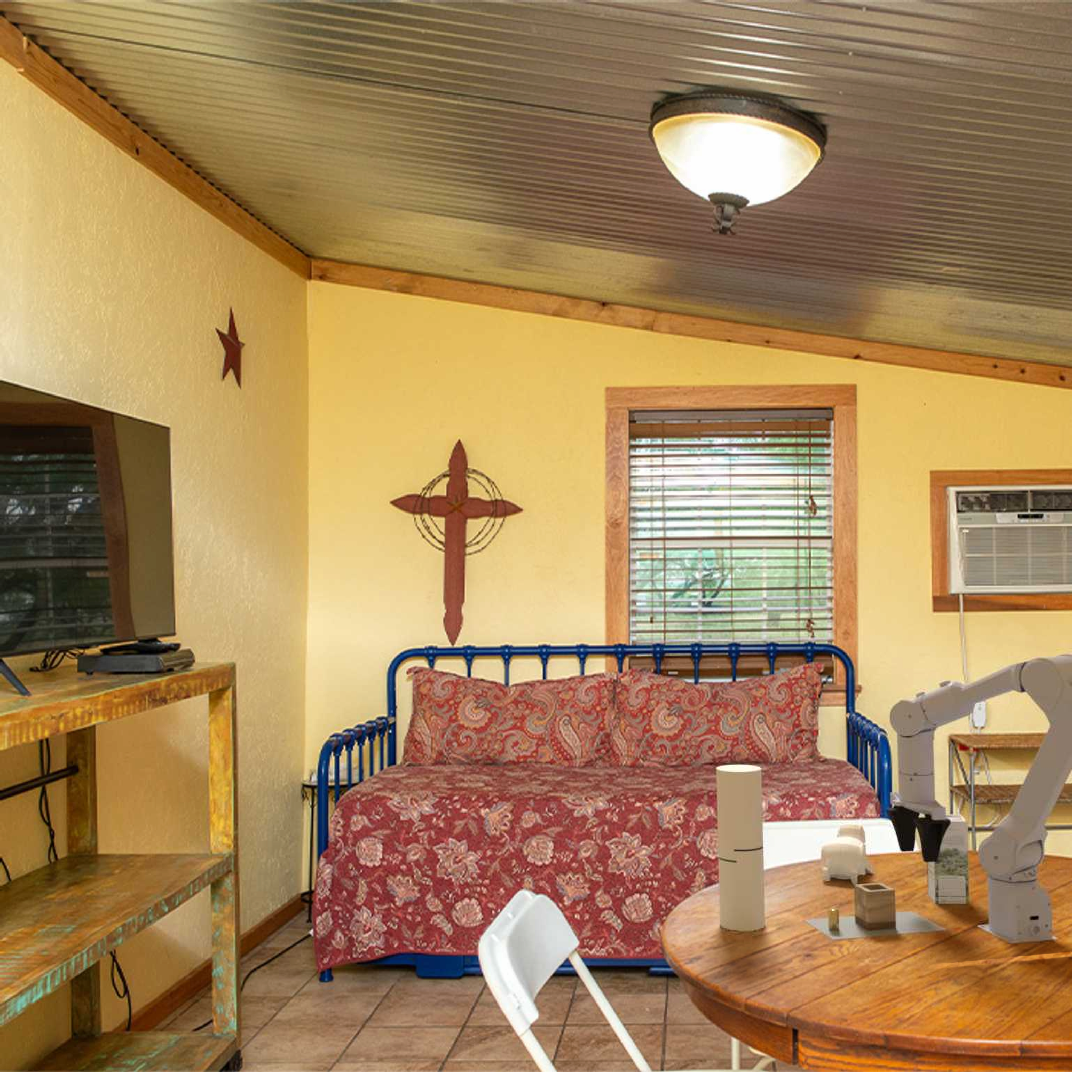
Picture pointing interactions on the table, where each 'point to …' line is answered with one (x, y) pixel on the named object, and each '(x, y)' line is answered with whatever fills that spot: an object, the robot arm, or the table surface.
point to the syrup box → (951, 865)
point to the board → (850, 929)
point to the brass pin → (833, 919)
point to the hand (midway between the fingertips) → (918, 856)
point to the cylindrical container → (740, 847)
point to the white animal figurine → (846, 854)
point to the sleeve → (875, 906)
